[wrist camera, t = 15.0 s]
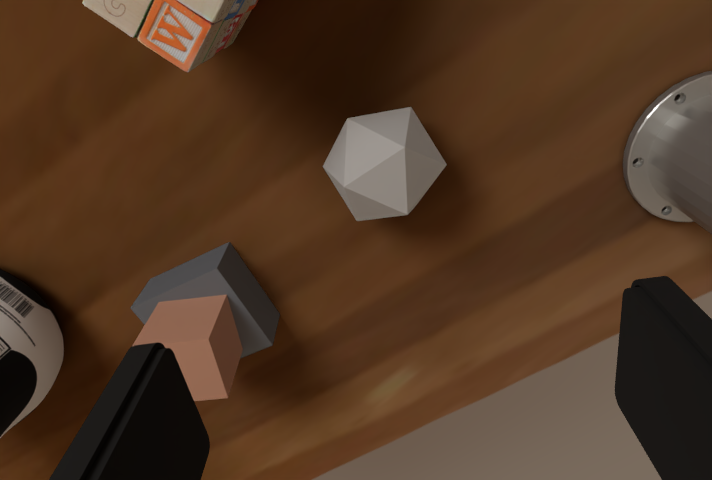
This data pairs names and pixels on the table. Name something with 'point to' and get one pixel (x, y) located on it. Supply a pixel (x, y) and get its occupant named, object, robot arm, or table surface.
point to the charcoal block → (212, 278)
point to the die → (383, 163)
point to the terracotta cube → (198, 342)
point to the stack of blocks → (178, 25)
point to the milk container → (25, 350)
